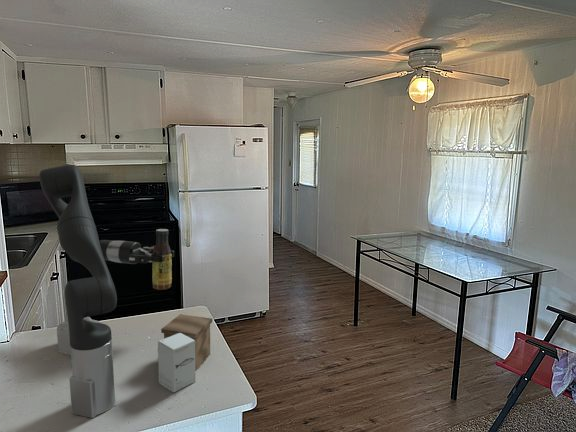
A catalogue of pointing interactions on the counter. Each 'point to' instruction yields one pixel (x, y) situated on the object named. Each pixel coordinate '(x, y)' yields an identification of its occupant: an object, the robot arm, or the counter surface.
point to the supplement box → (176, 361)
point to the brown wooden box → (192, 334)
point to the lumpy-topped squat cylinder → (66, 336)
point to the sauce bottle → (162, 269)
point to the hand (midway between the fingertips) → (168, 256)
